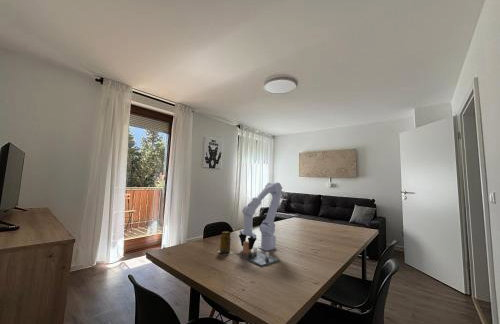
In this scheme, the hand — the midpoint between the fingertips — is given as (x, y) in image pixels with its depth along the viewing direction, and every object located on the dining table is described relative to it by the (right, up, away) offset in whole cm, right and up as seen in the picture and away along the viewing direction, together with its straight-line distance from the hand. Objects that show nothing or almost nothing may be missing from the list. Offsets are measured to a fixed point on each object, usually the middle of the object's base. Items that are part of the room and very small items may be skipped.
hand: (247, 247), depth 133 cm
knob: (0, -2, 0) cm, 2 cm away
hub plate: (+7, -2, -12) cm, 14 cm away
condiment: (-13, -2, -3) cm, 14 cm away
